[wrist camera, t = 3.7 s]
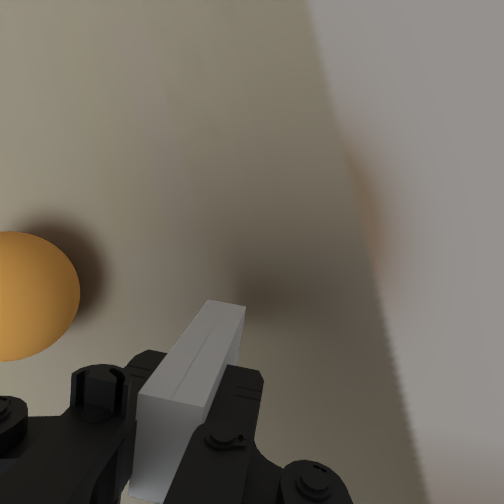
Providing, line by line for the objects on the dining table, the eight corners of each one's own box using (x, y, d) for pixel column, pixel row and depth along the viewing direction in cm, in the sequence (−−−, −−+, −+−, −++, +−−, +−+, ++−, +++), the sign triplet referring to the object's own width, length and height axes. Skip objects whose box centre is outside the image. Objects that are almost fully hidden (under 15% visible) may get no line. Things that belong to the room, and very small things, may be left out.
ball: (107, 234, 19) (28, 256, 13) (98, 340, 20) (22, 401, 14) (1, 215, 19) (-117, 230, 14) (-2, 320, 20) (-111, 371, 15)
